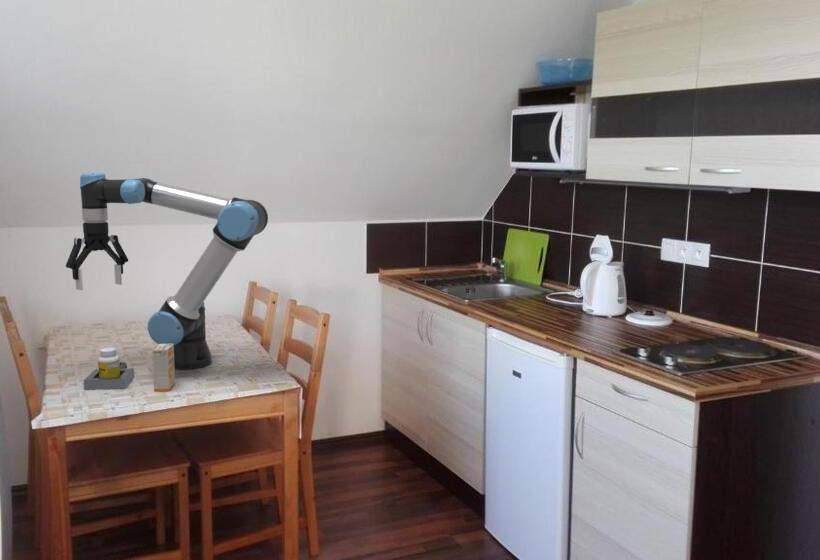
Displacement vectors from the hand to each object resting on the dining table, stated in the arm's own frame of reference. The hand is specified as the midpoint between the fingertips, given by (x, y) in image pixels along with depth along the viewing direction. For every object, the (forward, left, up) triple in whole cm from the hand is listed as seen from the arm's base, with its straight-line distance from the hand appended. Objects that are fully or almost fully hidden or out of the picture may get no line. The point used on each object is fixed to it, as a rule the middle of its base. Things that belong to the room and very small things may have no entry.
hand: (99, 287), depth 243 cm
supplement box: (-23, +19, -29) cm, 42 cm away
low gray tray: (-5, +8, -29) cm, 31 cm away
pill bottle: (-5, +13, -29) cm, 32 cm away
